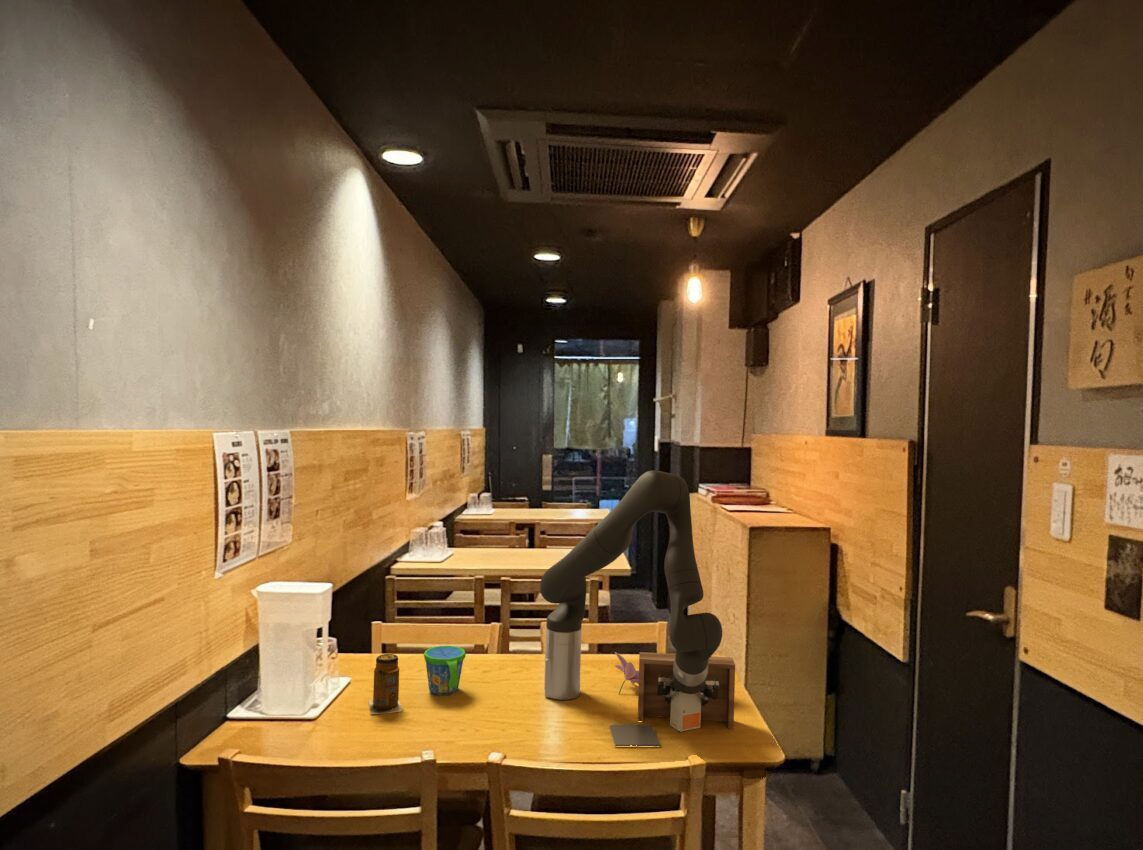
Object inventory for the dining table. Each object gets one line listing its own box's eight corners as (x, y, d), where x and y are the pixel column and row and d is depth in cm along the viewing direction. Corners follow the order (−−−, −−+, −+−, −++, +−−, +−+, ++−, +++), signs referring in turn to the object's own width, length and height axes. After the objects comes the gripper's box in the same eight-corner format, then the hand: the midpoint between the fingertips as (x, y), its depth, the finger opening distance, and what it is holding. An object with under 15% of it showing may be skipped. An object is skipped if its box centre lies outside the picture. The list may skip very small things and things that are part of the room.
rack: (733, 728, 158) (735, 664, 158) (637, 721, 160) (639, 658, 160) (730, 719, 163) (732, 657, 163) (637, 713, 165) (639, 652, 165)
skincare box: (680, 733, 155) (681, 681, 155) (669, 725, 159) (670, 674, 159) (701, 728, 158) (702, 677, 158) (690, 721, 162) (691, 671, 162)
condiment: (398, 698, 171) (400, 651, 171) (402, 712, 163) (403, 662, 163) (368, 701, 168) (370, 653, 168) (371, 715, 160) (372, 665, 160)
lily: (651, 706, 172) (662, 668, 176) (609, 688, 171) (621, 651, 175) (635, 702, 183) (646, 667, 187) (596, 686, 182) (608, 651, 186)
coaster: (615, 747, 147) (615, 744, 147) (609, 727, 157) (609, 724, 157) (660, 747, 148) (660, 744, 148) (651, 726, 158) (651, 724, 158)
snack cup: (471, 699, 171) (472, 659, 171) (429, 705, 167) (430, 663, 167) (456, 677, 186) (457, 640, 186) (418, 682, 181) (419, 644, 181)
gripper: (722, 655, 150) (715, 687, 162) (657, 651, 152) (655, 683, 163) (724, 687, 145) (717, 718, 156) (657, 683, 146) (655, 714, 158)
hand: (685, 700), depth 160 cm, fingers open, 7 cm apart
